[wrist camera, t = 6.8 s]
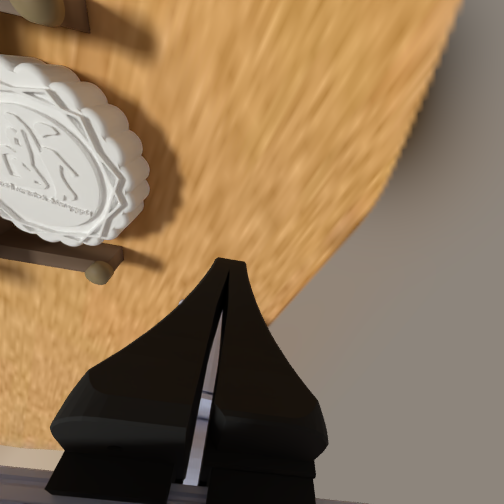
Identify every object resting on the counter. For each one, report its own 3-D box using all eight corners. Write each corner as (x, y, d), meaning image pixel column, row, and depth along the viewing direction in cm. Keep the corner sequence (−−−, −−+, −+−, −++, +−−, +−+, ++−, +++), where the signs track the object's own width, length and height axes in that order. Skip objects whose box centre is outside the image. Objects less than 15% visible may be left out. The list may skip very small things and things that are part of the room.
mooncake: (165, 110, 16) (143, 117, 13) (141, 246, 23) (122, 271, 20) (-44, 15, 14) (-127, -2, 11) (-4, 197, 20) (-48, 217, 17)
